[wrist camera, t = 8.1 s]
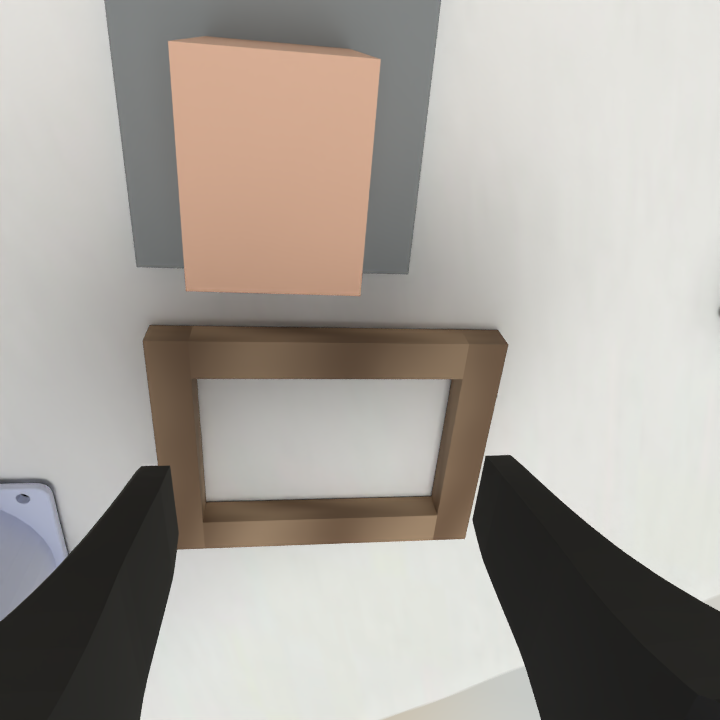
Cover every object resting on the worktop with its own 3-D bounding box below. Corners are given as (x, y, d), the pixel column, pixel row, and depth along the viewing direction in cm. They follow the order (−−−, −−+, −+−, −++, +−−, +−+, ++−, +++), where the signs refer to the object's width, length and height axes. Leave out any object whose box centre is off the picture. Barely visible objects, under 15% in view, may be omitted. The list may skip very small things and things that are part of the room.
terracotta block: (213, 216, 18) (185, 290, 13) (204, 35, 16) (168, 40, 11) (338, 222, 19) (360, 295, 14) (349, 48, 16) (380, 59, 11)
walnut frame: (173, 528, 26) (168, 549, 25) (149, 325, 21) (142, 340, 20) (457, 519, 27) (464, 538, 26) (497, 330, 23) (508, 344, 22)
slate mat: (142, 258, 20) (136, 267, 19) (103, -71, 15) (95, -75, 15) (403, 266, 21) (407, 274, 20) (438, -37, 16) (445, -40, 16)
